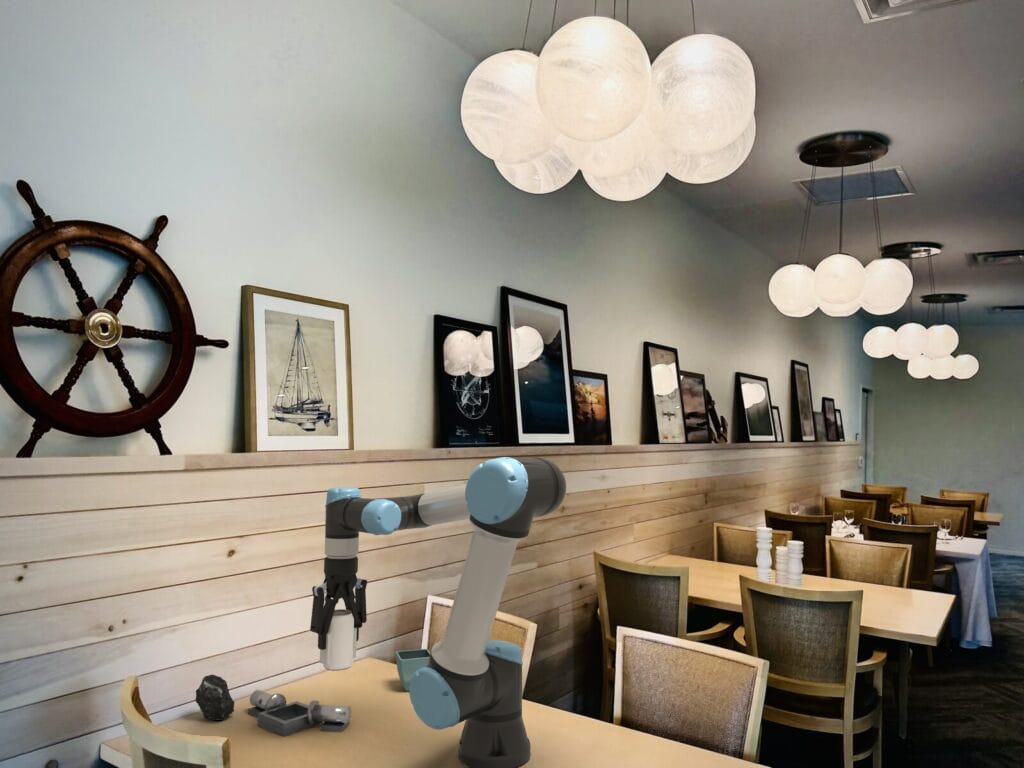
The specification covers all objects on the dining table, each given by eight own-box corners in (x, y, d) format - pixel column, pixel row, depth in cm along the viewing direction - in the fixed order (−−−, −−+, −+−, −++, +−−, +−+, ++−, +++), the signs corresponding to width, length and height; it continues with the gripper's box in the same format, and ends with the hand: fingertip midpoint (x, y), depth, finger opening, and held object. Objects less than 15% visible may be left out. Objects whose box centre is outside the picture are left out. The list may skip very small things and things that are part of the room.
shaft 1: (286, 715, 176) (286, 691, 177) (266, 721, 172) (267, 697, 173) (265, 707, 182) (266, 684, 182) (246, 713, 178) (247, 689, 178)
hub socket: (322, 723, 171) (322, 710, 172) (283, 736, 163) (283, 723, 164) (296, 713, 178) (296, 701, 178) (257, 725, 170) (258, 713, 170)
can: (345, 672, 161) (346, 616, 162) (317, 669, 162) (319, 614, 163) (357, 663, 167) (358, 609, 168) (330, 661, 169) (332, 608, 170)
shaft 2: (306, 730, 167) (307, 704, 168) (316, 721, 172) (316, 697, 173) (343, 732, 166) (343, 706, 166) (351, 724, 171) (352, 699, 171)
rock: (191, 722, 172) (193, 678, 173) (212, 711, 179) (213, 669, 180) (220, 725, 170) (221, 681, 171) (239, 715, 177) (241, 672, 178)
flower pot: (394, 684, 199) (395, 650, 200) (427, 681, 202) (427, 648, 203) (399, 695, 191) (400, 659, 192) (433, 691, 194) (433, 656, 194)
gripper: (364, 549, 177) (361, 647, 175) (294, 558, 162) (290, 666, 160) (385, 553, 172) (382, 654, 170) (315, 563, 157) (311, 673, 155)
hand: (338, 659), depth 165 cm, fingers closed on can, 6 cm apart
